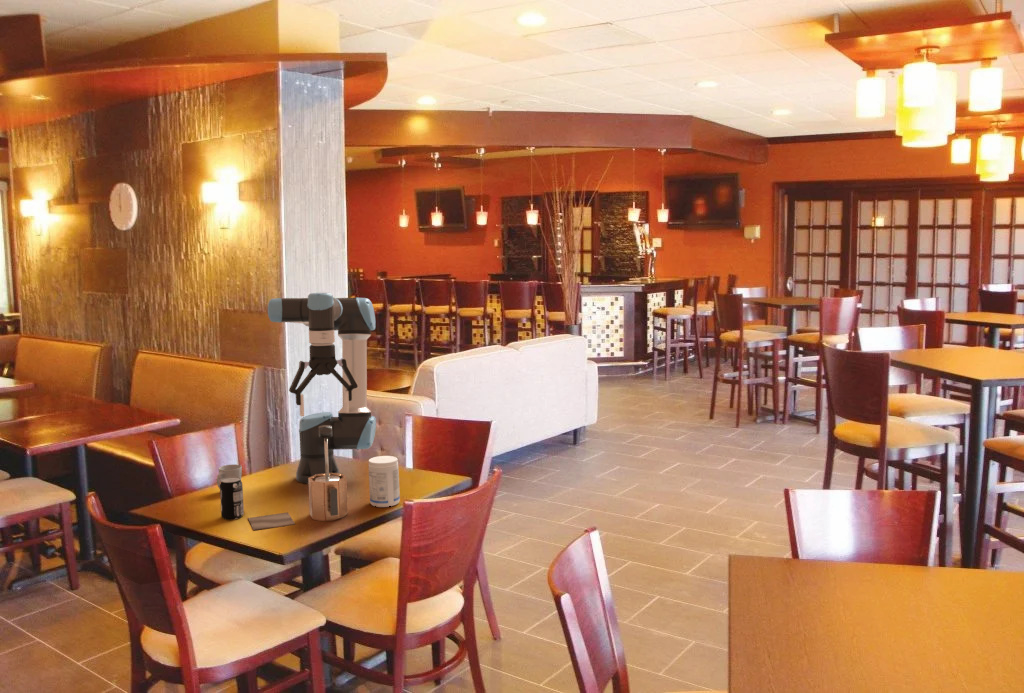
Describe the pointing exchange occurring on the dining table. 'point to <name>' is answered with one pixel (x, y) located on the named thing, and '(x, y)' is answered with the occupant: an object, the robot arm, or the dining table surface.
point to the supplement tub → (384, 481)
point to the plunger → (326, 453)
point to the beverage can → (231, 498)
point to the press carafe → (328, 498)
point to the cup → (228, 472)
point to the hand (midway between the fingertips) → (324, 413)
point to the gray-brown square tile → (271, 521)
